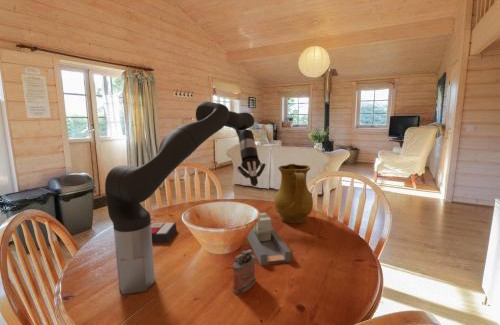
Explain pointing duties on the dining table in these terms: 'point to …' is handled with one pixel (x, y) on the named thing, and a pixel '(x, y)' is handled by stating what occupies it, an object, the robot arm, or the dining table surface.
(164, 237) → the dark box
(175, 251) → the dining table surface
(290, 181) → the pitcher
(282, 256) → the chute
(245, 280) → the lighter
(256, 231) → the block
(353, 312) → the dining table surface
